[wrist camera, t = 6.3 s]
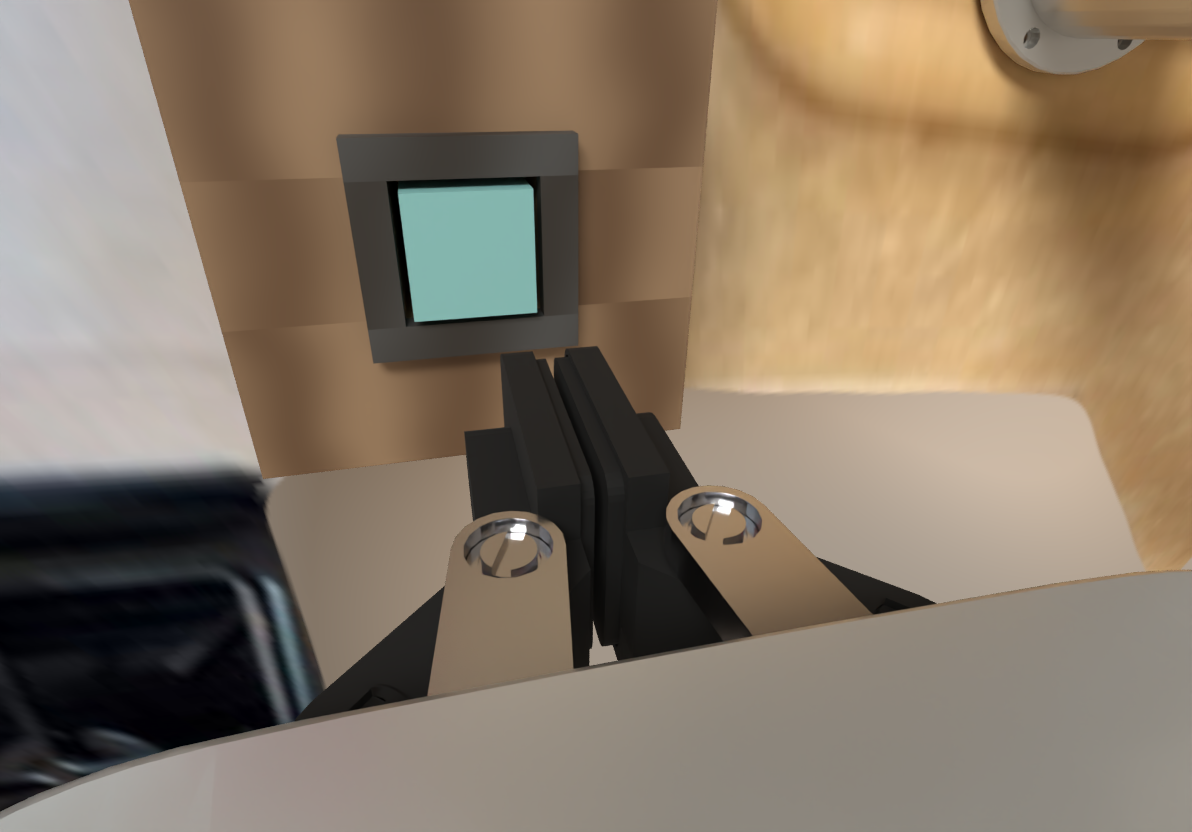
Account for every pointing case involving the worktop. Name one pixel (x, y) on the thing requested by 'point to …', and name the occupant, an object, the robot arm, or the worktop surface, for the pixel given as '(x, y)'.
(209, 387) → the worktop surface
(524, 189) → the peg
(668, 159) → the socket block
